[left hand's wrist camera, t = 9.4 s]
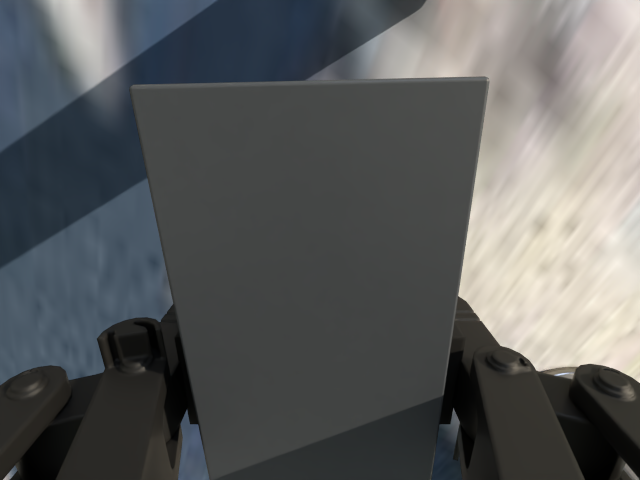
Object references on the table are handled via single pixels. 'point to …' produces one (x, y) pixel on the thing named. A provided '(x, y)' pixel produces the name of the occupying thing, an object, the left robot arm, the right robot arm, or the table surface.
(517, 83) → the table surface
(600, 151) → the table surface
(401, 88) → the beam
